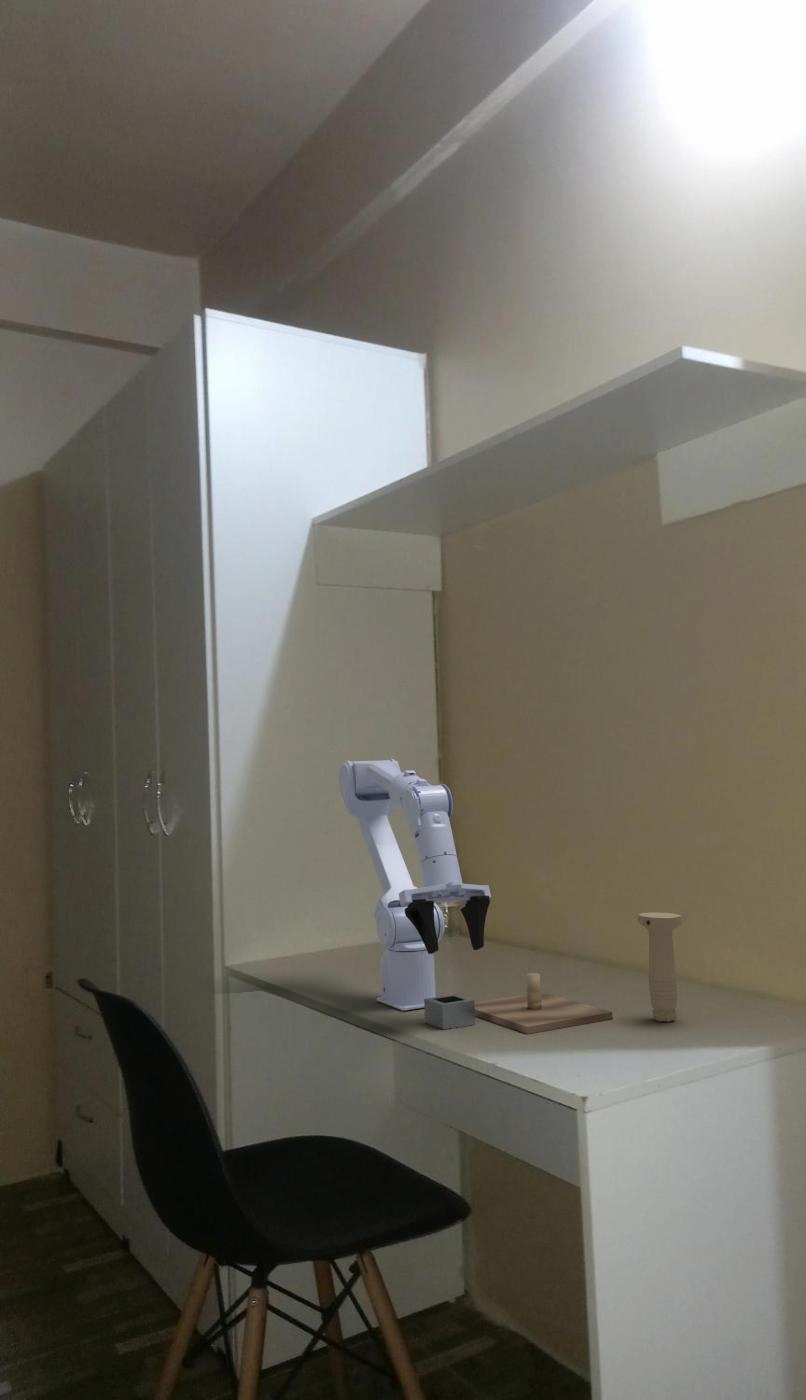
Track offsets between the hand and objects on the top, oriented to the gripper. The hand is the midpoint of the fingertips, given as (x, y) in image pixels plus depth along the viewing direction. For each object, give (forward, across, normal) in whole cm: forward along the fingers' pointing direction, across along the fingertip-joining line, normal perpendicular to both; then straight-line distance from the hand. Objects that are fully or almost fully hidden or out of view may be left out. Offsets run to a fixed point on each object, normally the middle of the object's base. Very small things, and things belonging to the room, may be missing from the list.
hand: (456, 950), depth 163 cm
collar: (+9, 0, +6) cm, 11 cm away
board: (+10, +13, +3) cm, 17 cm away
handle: (+15, +26, -10) cm, 32 cm away
